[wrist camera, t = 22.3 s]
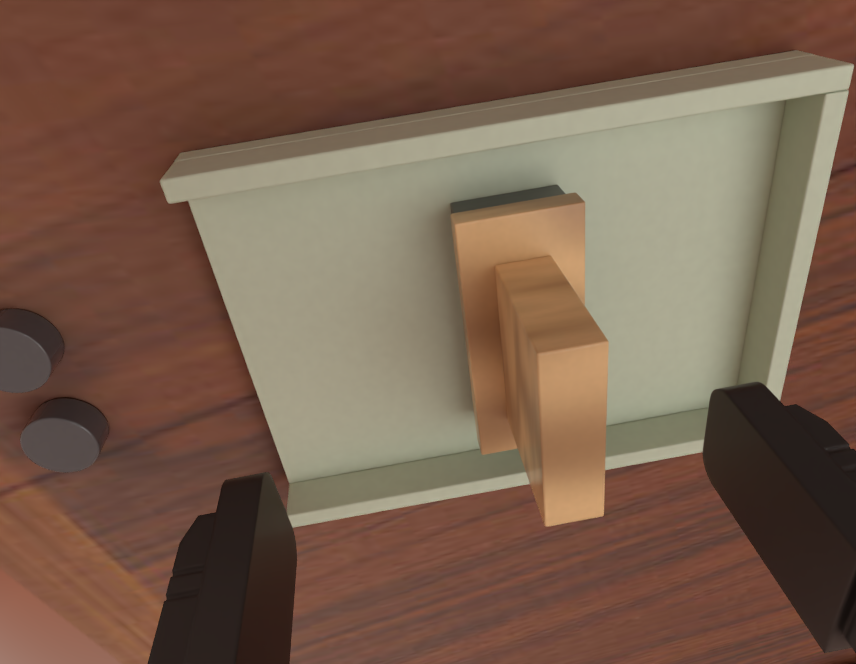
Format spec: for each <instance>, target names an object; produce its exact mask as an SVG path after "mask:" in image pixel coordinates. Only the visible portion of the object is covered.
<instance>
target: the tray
mask: <svg viewBox="0 0 856 664" xmlns="http://www.w3.org/2000/svg"><path fill="white" fill-rule="evenodd" d="M853 68H854V65H853V64H851V63H847V62H843V61H838V60H834V59H830V58H826V57H821V56H817V55H814V54H811V53H806V52H802V51H798V50H795V51H789V52H783V53H777V54H771V55H765V56H759V57H753V58H747V59H741V60H735V61H729V62H723V63H717V64H711V65H705V66H699V67H693V68H687V69H681V70H675V71H669V72H663V73H657V74H651V75H645V76H639V77H633V78H627V79H621V80H615V81H609V82H603V83H597V84H591V85H585V86H579V87H573V88H567V89H561V90H555V91H549V92H543V93H537V94H531V95H525V96H519V97H513V98H507V99H501V100H495V101H489V102H483V103H477V104H471V105H465V106H459V107H453V108H447V109H441V110H435V111H429V112H423V113H417V114H411V115H405V116H399V117H393V118H387V119H381V120H375V121H369V122H363V123H357V124H351V125H345V126H339V127H333V128H327V129H321V130H315V131H309V132H303V133H297V134H291V135H285V136H279V137H273V138H267V139H261V140H255V141H249V142H243V143H237V144H231V145H225V146H219V147H213V148H207V149H201V150H195V151H189V152H183V153H180V154H179V155H178V157H177V158H176V159H175V161H174V163H173V164H172V165H171V167H170V168H169V169H168V171H167V172H166V173H165V174H164V176H163V177H162V178H161V180H160V184H161V187H162V189H163V192H164V195H165V197H166V200H167V202H168V203H170V204H172V203H178V202H184V201H188V203H189V205H190V208H191V211H192V214H193V217H194V219H195V222H196V225H197V228H198V230H199V233H200V236H201V239H202V242H203V244H204V247H205V250H206V253H207V256H208V258H209V261H210V264H211V267H212V269H213V272H214V275H215V278H216V281H217V283H218V286H219V289H220V292H221V295H222V297H223V300H224V303H225V306H226V308H227V311H228V314H229V317H230V320H231V322H232V325H233V328H234V331H235V334H236V336H237V339H238V342H239V345H240V348H241V350H242V353H243V356H244V359H245V361H246V364H247V367H248V370H249V373H250V375H251V378H252V381H253V384H254V387H255V389H256V392H257V395H258V398H259V400H260V403H261V406H262V409H263V412H264V414H265V417H266V420H267V423H268V426H269V428H270V431H271V434H272V437H273V439H274V442H275V445H276V448H277V451H278V453H279V456H280V459H281V462H282V465H283V467H284V470H285V473H286V476H287V478H288V481H289V484H290V485H289V493H288V503H287V515H288V518H289V520H290V523H291V525H292V528H293V527H298V526H304V525H309V524H315V523H320V522H326V521H331V520H336V519H342V518H347V517H353V516H358V515H364V514H369V513H374V512H380V511H385V510H391V509H396V508H402V507H407V506H412V505H418V504H423V503H429V502H434V501H440V500H445V499H450V498H456V497H461V496H467V495H472V494H477V493H483V492H488V491H494V490H499V489H505V488H510V487H515V486H521V485H526V484H530V482H529V480H528V477H527V474H526V471H525V468H524V465H523V462H522V459H521V457H520V454H519V451H518V449H513V450H507V451H502V452H496V453H491V454H485V455H482V454H481V451H480V447H479V444H478V440H477V433H476V424H475V416H474V408H473V400H472V391H471V383H470V375H469V367H468V359H467V350H466V342H465V334H464V326H463V317H462V309H461V301H460V293H459V285H458V276H457V268H456V260H455V252H454V243H453V235H452V227H451V219H450V215H451V208H450V203H453V202H458V201H464V200H470V199H476V198H482V197H488V196H493V195H499V194H505V193H511V192H517V191H523V190H528V189H534V188H540V187H546V186H552V185H558V186H559V187H560V188H561V189H562V190H563V191H564V192H565V193H566V194H569V193H574V192H575V193H577V194H578V195H579V196H580V197H581V198H582V199H583V200H584V201H585V307H586V308H587V310H588V311H589V313H590V314H591V316H592V317H593V319H594V320H595V322H596V323H597V325H598V326H599V328H600V329H601V331H602V332H603V334H604V335H605V337H606V338H607V340H608V341H609V352H608V386H607V421H606V456H605V470H608V469H613V468H619V467H624V466H629V465H635V464H640V463H646V462H651V461H657V460H662V459H667V458H673V457H678V456H684V455H689V454H694V453H700V452H703V444H704V437H705V429H706V422H707V415H708V408H709V401H710V396H711V393H712V392H713V390H715V389H719V388H724V387H729V386H735V385H740V384H745V383H750V382H760V383H762V384H764V385H765V386H766V387H767V388H768V389H769V390H770V391H771V392H772V393H773V394H774V395H775V396H776V397H777V398H778V400H779V401H780V398H781V393H782V389H783V384H784V380H785V375H786V371H787V366H788V362H789V357H790V353H791V348H792V344H793V339H794V335H795V330H796V326H797V321H798V317H799V312H800V308H801V303H802V299H803V294H804V290H805V285H806V281H807V276H808V272H809V268H810V263H811V259H812V254H813V250H814V245H815V241H816V236H817V232H818V227H819V223H820V218H821V214H822V209H823V205H824V200H825V196H826V191H827V187H828V182H829V178H830V173H831V169H832V164H833V160H834V155H835V151H836V146H837V142H838V137H839V133H840V128H841V124H842V119H843V115H844V110H845V106H846V101H847V97H848V90H846V89H848V88H849V86H850V82H851V77H852V73H853Z"/></svg>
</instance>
